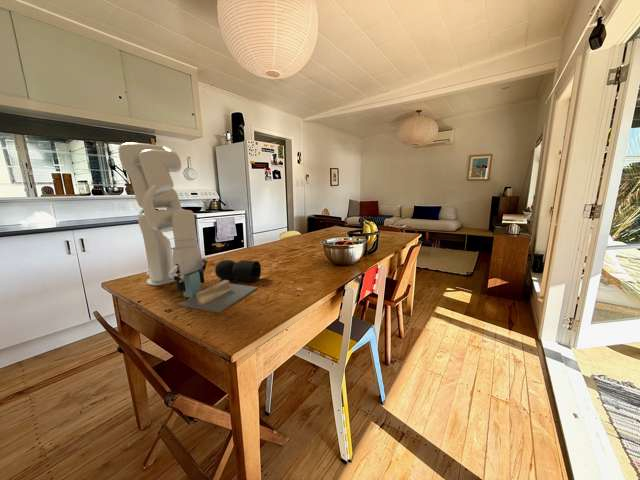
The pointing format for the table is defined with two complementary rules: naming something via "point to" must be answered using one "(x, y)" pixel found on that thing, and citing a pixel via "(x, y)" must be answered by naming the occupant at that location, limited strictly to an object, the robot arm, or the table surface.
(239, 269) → the figurine
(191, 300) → the panel
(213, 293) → the plank
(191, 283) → the block
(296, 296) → the table surface
